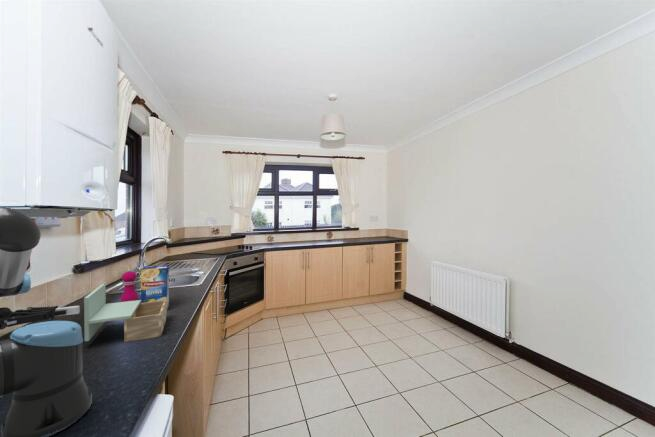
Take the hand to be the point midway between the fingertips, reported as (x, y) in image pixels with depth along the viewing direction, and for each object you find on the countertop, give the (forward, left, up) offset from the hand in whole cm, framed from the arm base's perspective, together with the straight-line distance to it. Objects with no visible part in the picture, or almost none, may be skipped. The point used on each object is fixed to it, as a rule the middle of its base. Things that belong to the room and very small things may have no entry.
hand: (78, 309), depth 100 cm
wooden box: (+9, -20, -12) cm, 25 cm away
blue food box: (+30, -10, -12) cm, 34 cm away
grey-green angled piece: (+5, -10, -9) cm, 14 cm away
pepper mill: (+34, +6, -12) cm, 37 cm away
